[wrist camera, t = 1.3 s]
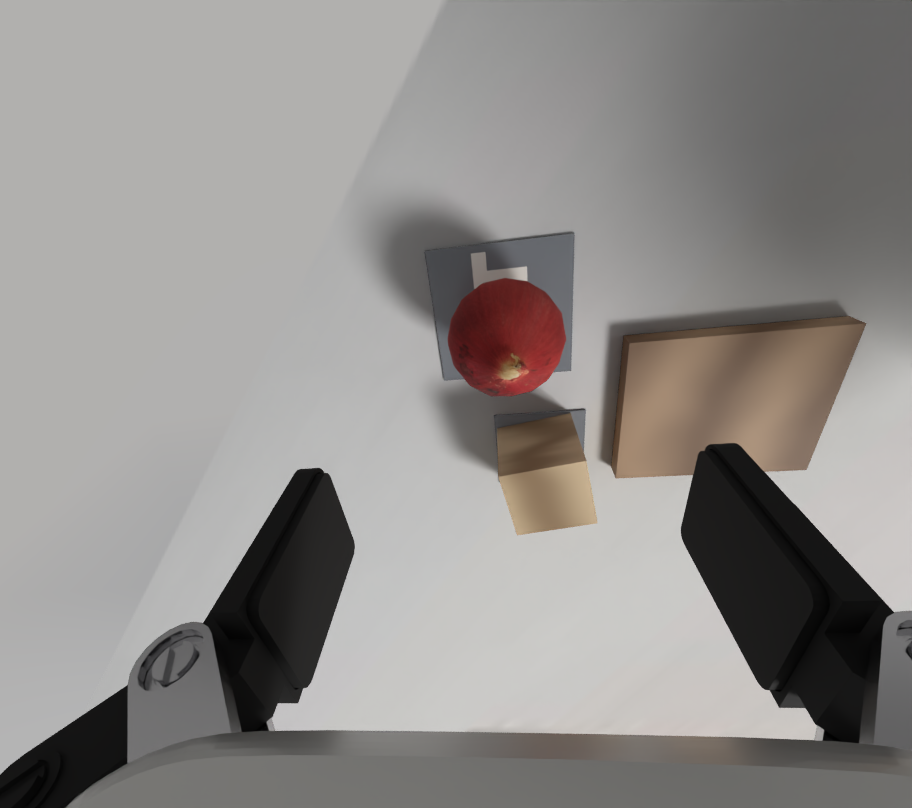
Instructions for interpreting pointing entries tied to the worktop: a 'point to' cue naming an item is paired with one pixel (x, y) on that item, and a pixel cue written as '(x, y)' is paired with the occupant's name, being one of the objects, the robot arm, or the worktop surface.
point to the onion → (506, 337)
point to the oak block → (545, 475)
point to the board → (729, 393)
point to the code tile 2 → (515, 419)
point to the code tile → (515, 259)
